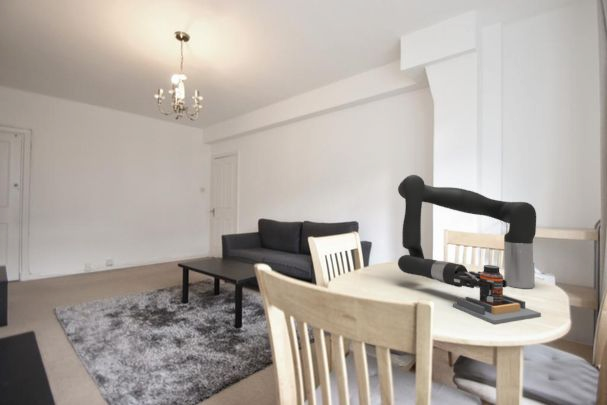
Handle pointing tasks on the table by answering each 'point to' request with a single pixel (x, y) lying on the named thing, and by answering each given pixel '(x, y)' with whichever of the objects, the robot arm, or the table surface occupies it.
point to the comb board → (496, 310)
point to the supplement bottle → (495, 277)
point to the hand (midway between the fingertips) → (499, 285)
